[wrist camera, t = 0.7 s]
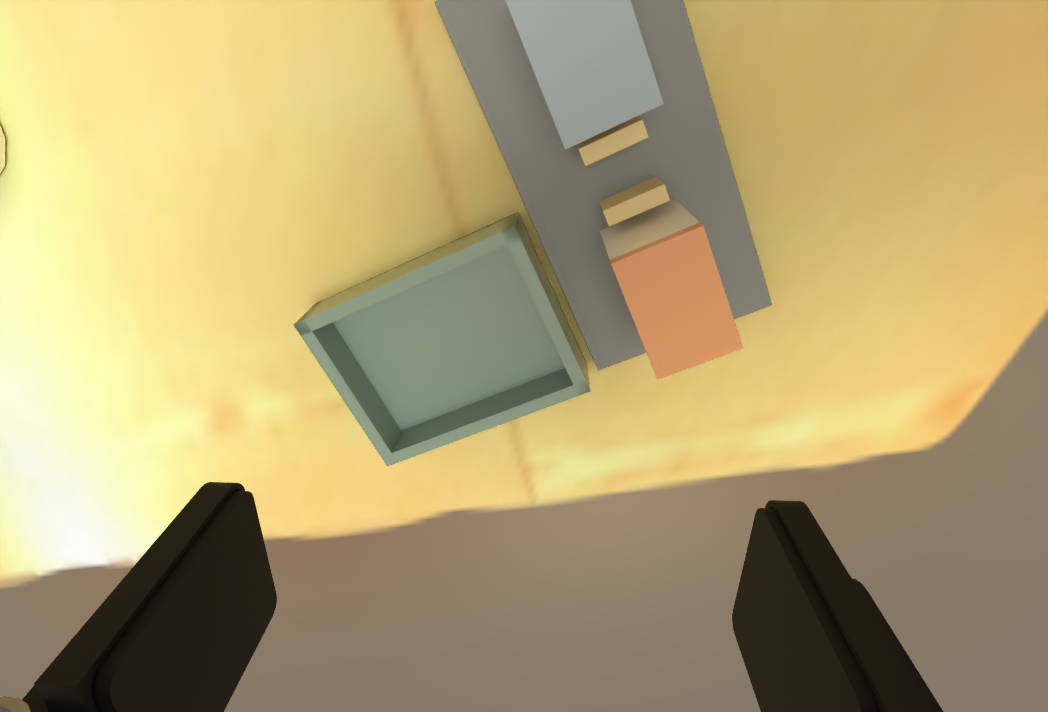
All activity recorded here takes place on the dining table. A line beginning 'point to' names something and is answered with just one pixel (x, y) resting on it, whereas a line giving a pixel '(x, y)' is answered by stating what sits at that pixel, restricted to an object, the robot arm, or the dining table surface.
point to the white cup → (2, 150)
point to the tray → (448, 343)
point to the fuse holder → (605, 140)
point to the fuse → (672, 287)
